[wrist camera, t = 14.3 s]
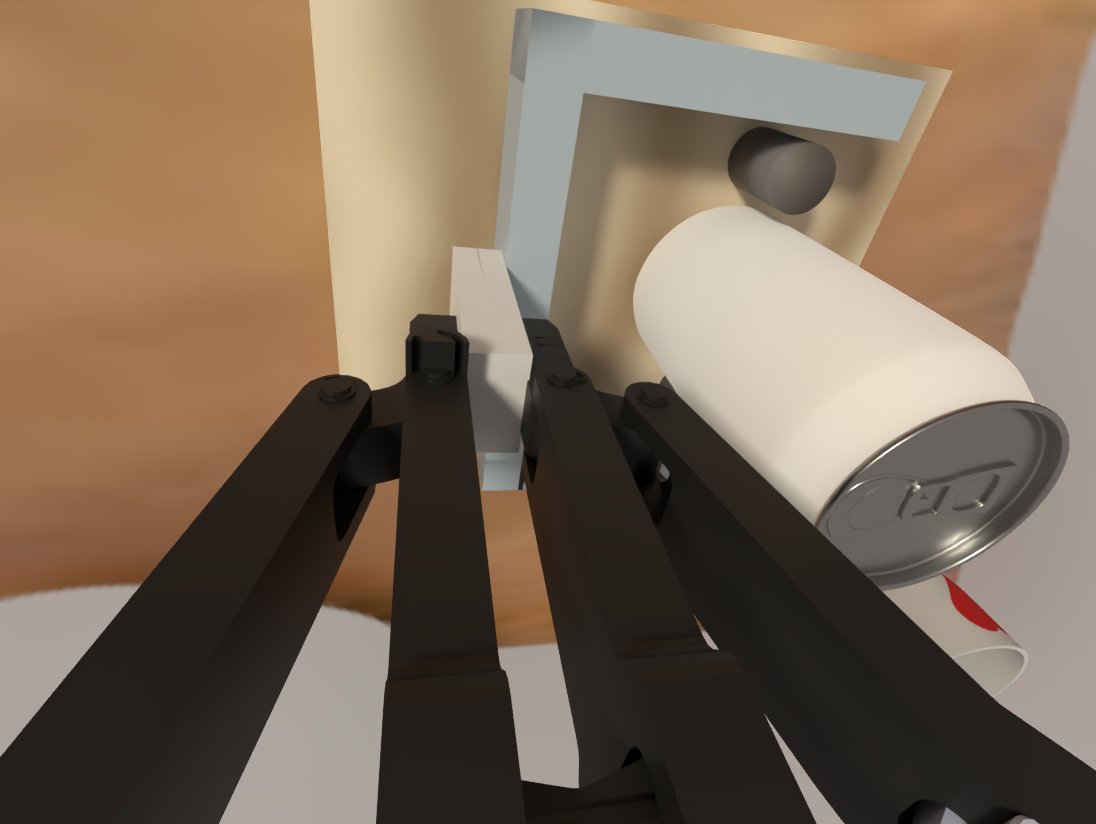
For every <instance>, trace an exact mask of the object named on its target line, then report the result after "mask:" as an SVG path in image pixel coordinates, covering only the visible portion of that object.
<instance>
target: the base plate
mask: <svg viewBox="0 0 1096 824" xmlns="http://www.w3.org/2000/svg"><path fill="white" fill-rule="evenodd" d="M309 3H310V16H311V28H312V40H313V52H314V65H315V77H316V89H317V101H318V114H319V126H320V138H321V150H322V163H323V175H324V187H325V199H326V212H327V224H328V236H329V248H330V261H331V273H332V285H333V297H334V310H335V322H336V334H337V346H338V359H339V371H340V375H350V376H353V377H357V378H360V379H362V380H363V381H365V382H366V383H368V385H369V387H370V389H371V391H372V390H378V389H382V388H387V387H390V386H392V385H395V384H397V383H398V382H400V381H401V380H402V379H403V378H404V377H405V375H406V370H405V340H406V338H407V336H408V335H409V330H410V322H411V321H412V320H413V319H414V318H415V317H416V316H417V315H418V314H433V315H450V296H451V274H452V252H453V246H455V247H467V248H479V249H491V250H494V241H495V230H496V219H497V208H498V196H499V185H500V174H501V163H502V152H503V141H504V130H505V119H506V108H507V97H508V86H509V75H510V63H511V52H512V41H513V30H514V19H515V9H517V8H535V9H541V10H546V11H551V12H557V13H562V14H567V15H573V16H578V17H583V18H589V19H594V20H600V21H605V22H610V23H616V24H621V25H626V26H632V27H637V28H642V29H648V30H653V31H658V32H664V33H669V34H675V35H680V36H685V37H691V38H696V39H701V40H707V41H712V42H717V43H723V44H728V45H733V46H739V47H744V48H750V49H755V50H760V51H766V52H771V53H776V54H782V55H787V56H792V57H798V58H803V59H808V60H814V61H819V62H824V63H830V64H835V65H841V66H846V67H851V68H857V69H862V70H867V71H873V72H878V73H883V74H889V75H894V76H899V77H905V78H910V79H916V80H921V81H926V84H925V86H924V88H923V90H922V93H921V95H920V97H919V99H918V101H917V103H916V106H915V108H914V110H913V112H912V114H911V116H910V119H909V121H908V123H907V125H906V127H905V129H904V131H903V134H902V136H901V138H900V140H899V141H893V140H886V139H880V138H873V137H867V136H860V135H854V134H847V133H841V132H834V131H828V130H822V129H815V128H809V127H802V126H796V125H789V124H783V123H776V122H770V121H763V120H757V119H750V118H744V117H737V116H731V115H724V114H718V113H711V112H705V111H698V110H692V109H685V108H679V107H672V106H666V105H659V104H653V103H646V102H640V101H633V100H627V99H620V98H614V97H607V96H601V95H594V94H588V93H584V94H583V100H582V106H581V112H580V119H579V125H578V131H577V138H576V144H575V150H574V157H573V163H572V169H571V176H570V182H569V188H568V195H567V201H566V207H565V214H564V220H563V226H562V232H561V239H560V245H559V251H558V258H557V264H556V270H555V277H554V283H553V289H552V296H551V302H550V308H549V315H548V320H549V321H550V322H551V323H552V324H553V325H555V326H556V327H557V328H558V330H559V332H560V335H561V337H562V340H563V342H564V345H565V347H566V350H567V352H568V354H569V357H570V359H571V362H572V364H573V367H575V368H578V369H580V370H581V371H583V372H584V373H586V374H587V375H588V377H589V378H590V379H591V381H592V383H593V386H594V388H595V390H598V391H601V392H604V393H608V394H613V395H618V396H622V397H624V393H625V389H626V388H627V387H628V386H629V385H630V384H633V383H637V382H653V383H657V384H660V385H662V386H664V387H667V388H669V389H670V390H672V391H673V392H675V393H676V391H675V390H674V388H673V387H672V385H671V384H670V382H669V381H668V379H667V378H666V376H665V374H664V373H663V371H662V370H661V368H660V367H659V365H658V364H657V362H656V361H655V359H654V357H653V356H652V354H651V353H650V351H649V350H648V348H647V346H646V345H645V343H644V341H643V340H642V338H641V336H640V334H639V332H638V329H637V326H636V322H635V318H634V310H633V294H634V288H635V283H636V280H637V277H638V275H639V272H640V270H641V268H642V266H643V264H644V263H645V261H646V259H647V258H648V256H649V255H650V253H651V252H652V250H653V249H654V248H655V246H656V245H657V244H658V243H659V242H660V241H661V240H662V238H663V237H664V236H665V235H667V234H668V233H669V232H670V231H671V230H672V229H674V228H675V227H676V226H677V225H679V224H680V223H682V222H683V221H685V220H687V219H688V218H690V217H692V216H694V215H696V214H698V213H701V212H703V211H706V210H709V209H713V208H717V207H722V206H745V207H751V208H754V209H757V210H760V211H762V212H764V213H766V214H768V215H770V216H772V217H774V218H776V219H778V220H779V221H781V222H783V223H785V224H786V225H788V226H790V227H792V228H793V229H795V230H797V231H798V232H800V233H802V234H804V235H805V236H807V237H809V238H811V239H812V240H814V241H816V242H817V243H819V244H821V245H822V246H824V247H826V248H828V249H829V250H831V251H833V252H834V253H836V254H838V255H839V256H841V257H843V258H845V259H846V260H848V261H850V262H851V263H853V264H855V265H856V266H858V267H859V265H860V263H861V261H862V259H863V257H864V255H865V253H866V251H867V249H868V247H869V244H870V242H871V240H872V238H873V236H874V234H875V232H876V230H877V228H878V226H879V224H880V222H881V220H882V217H883V215H884V213H885V211H886V209H887V207H888V205H889V203H890V201H891V199H892V197H893V195H894V193H895V190H896V188H897V186H898V184H899V182H900V180H901V178H902V176H903V174H904V172H905V170H906V168H907V166H908V163H909V161H910V159H911V157H912V155H913V153H914V151H915V149H916V147H917V145H918V143H919V141H920V139H921V136H922V134H923V132H924V130H925V128H926V126H927V124H928V122H929V120H930V118H931V116H932V114H933V111H934V109H935V107H936V105H937V103H938V101H939V99H940V97H941V95H942V93H943V91H944V89H945V87H946V84H947V82H948V80H949V78H950V76H951V74H952V72H953V71H951V70H945V69H940V68H935V67H930V66H925V65H920V64H915V63H909V62H904V61H899V60H894V59H889V58H884V57H879V56H873V55H868V54H863V53H858V52H853V51H848V50H843V49H838V48H832V47H827V46H822V45H817V44H812V43H807V42H802V41H796V40H791V39H786V38H781V37H776V36H771V35H766V34H760V33H755V32H750V31H745V30H740V29H735V28H730V27H724V26H719V25H714V24H709V23H704V22H699V21H694V20H689V19H683V18H678V17H673V16H668V15H663V14H658V13H653V12H647V11H642V10H637V9H632V8H627V7H622V6H617V5H611V4H606V3H601V2H596V1H591V0H309ZM676 394H677V393H676ZM677 395H678V394H677Z"/></svg>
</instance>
